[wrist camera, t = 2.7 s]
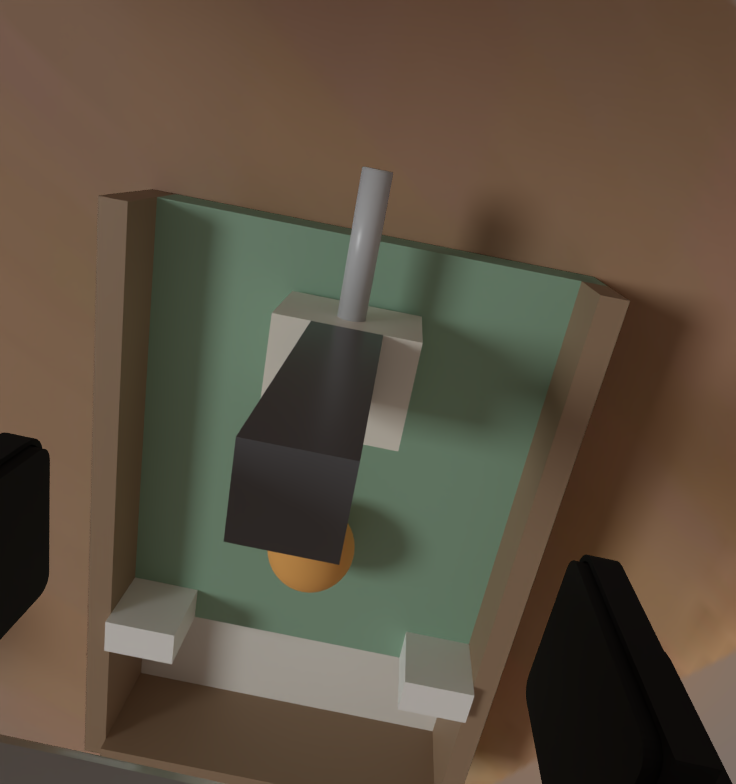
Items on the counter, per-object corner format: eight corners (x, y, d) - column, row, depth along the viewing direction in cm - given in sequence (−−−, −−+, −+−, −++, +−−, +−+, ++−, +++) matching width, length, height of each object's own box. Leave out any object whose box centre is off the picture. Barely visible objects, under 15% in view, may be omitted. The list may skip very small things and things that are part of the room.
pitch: (151, 189, 25) (90, 196, 20) (593, 277, 25) (635, 304, 20) (125, 677, 34) (79, 759, 29) (446, 741, 34) (451, 833, 29)
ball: (283, 480, 27) (264, 526, 23) (364, 496, 27) (357, 544, 23) (272, 548, 28) (252, 601, 25) (350, 564, 28) (341, 619, 25)
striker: (311, 155, 22) (188, 150, 10) (451, 182, 22) (492, 210, 10) (278, 387, 25) (155, 592, 13) (400, 411, 25) (386, 638, 13)
